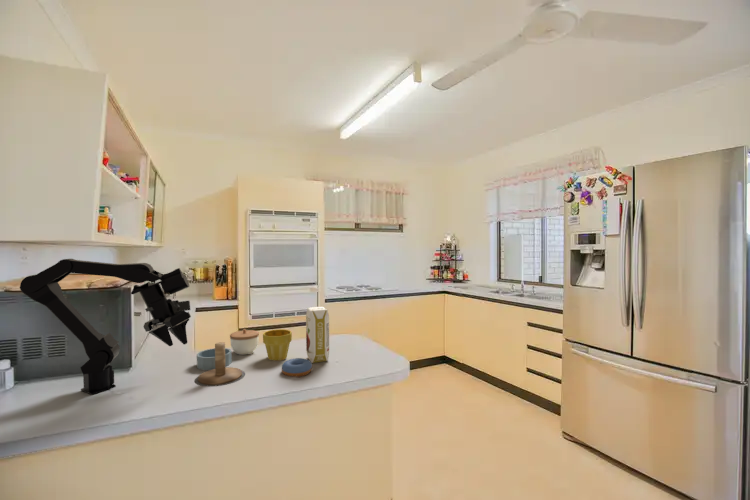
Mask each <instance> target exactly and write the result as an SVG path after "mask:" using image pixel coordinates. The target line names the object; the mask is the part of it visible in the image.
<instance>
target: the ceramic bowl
mask: <svg viewBox="0 0 750 500" xmlns="http://www.w3.org/2000/svg"><path fill="white" fill-rule="evenodd" d="M232 352H233V350H232V349H230V348H226V347H225V367H229V366H230V365H231V364H232V363H233V361H232V359H233V358H232V356H233V355H232ZM196 367H197V369H198V370H202V371H209V370H212V369H215V347H214V348H209V349H204V350H201V351H198V353H196Z"/></svg>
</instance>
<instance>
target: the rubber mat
mask: <svg viewBox="0 0 750 500" xmlns="http://www.w3.org/2000/svg"><path fill="white" fill-rule="evenodd" d="M240 370H241V369H240ZM241 371H242V376H241V377H240V378H239V379H237V380H235V381H232V382H229V383H225V384H219V385H205V384H201V383H199V382H198V377H199V375H198V376H196V377H195V379H194V383H195V384H196V385H198V386H201V387H210V388H211V387H221V386H225V385H227V386H228V385H231V384H233V383H237V382H239V381H240V380H242V379H244V377H245V376H246V372H245V371H243V370H241Z"/></svg>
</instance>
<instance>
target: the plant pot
mask: <svg viewBox="0 0 750 500" xmlns="http://www.w3.org/2000/svg"><path fill="white" fill-rule="evenodd" d="M292 333H293V332H292V330H289V329H285V328H284V329H283V328H282V329H281V328H279V329H277V328H276V329H271V330H270V329H269V330H267V331H264V332H263V333H262V343H263V344H264V346H265V349H266V353H267V358H268V360H270V361H285V360H287V357H288V353H289V349H290V343H291V342H292V339H293V334H292Z"/></svg>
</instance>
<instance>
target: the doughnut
mask: <svg viewBox="0 0 750 500" xmlns="http://www.w3.org/2000/svg"><path fill="white" fill-rule="evenodd" d="M312 364H313V363H311V361H310V359H307V358H303V357H300V358H299V357H296V358H291V359H288V360H287V359H286V361H284V362H283V364H282V365H281V372H282V374H283V375H284V376H287V377H296V378H300V377H304V376H306V375H308V374H310V373H311V371H312V370H313V365H312Z"/></svg>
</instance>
